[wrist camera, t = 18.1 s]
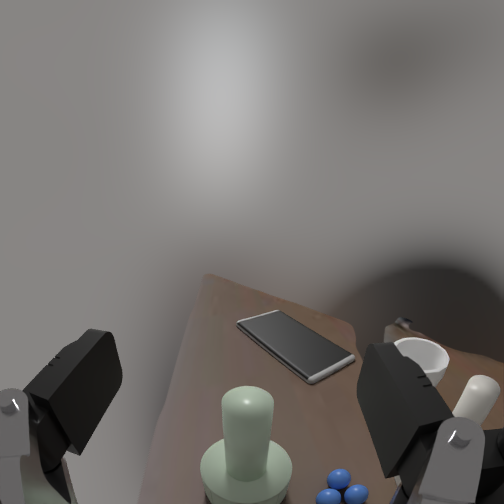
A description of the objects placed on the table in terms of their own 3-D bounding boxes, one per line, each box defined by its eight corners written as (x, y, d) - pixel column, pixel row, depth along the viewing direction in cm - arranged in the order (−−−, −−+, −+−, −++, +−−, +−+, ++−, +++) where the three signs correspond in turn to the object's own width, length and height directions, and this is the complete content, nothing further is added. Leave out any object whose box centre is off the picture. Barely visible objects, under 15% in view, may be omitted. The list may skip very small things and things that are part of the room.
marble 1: (329, 473, 28) (334, 462, 27) (350, 479, 27) (356, 468, 26) (321, 489, 26) (326, 479, 25) (342, 495, 24) (348, 485, 23)
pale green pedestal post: (234, 449, 33) (233, 356, 29) (299, 477, 28) (323, 388, 24) (188, 493, 25) (163, 408, 20) (259, 532, 20) (270, 466, 15)
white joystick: (401, 446, 30) (445, 356, 26) (457, 454, 25) (510, 366, 21) (386, 497, 22) (446, 412, 18) (451, 505, 17) (525, 419, 13)
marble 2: (319, 491, 25) (324, 481, 24) (341, 498, 24) (347, 488, 23) (309, 508, 23) (314, 499, 22) (332, 515, 21) (338, 507, 20)
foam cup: (422, 436, 31) (455, 373, 28) (369, 435, 34) (394, 371, 31) (416, 399, 40) (440, 339, 37) (369, 396, 43) (388, 335, 39)
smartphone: (309, 387, 47) (310, 380, 47) (234, 326, 69) (234, 320, 69) (355, 362, 54) (357, 355, 54) (278, 314, 76) (278, 308, 76)
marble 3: (346, 488, 25) (352, 478, 24) (367, 493, 24) (374, 483, 23) (337, 505, 23) (343, 496, 22) (359, 511, 21) (367, 502, 20)
